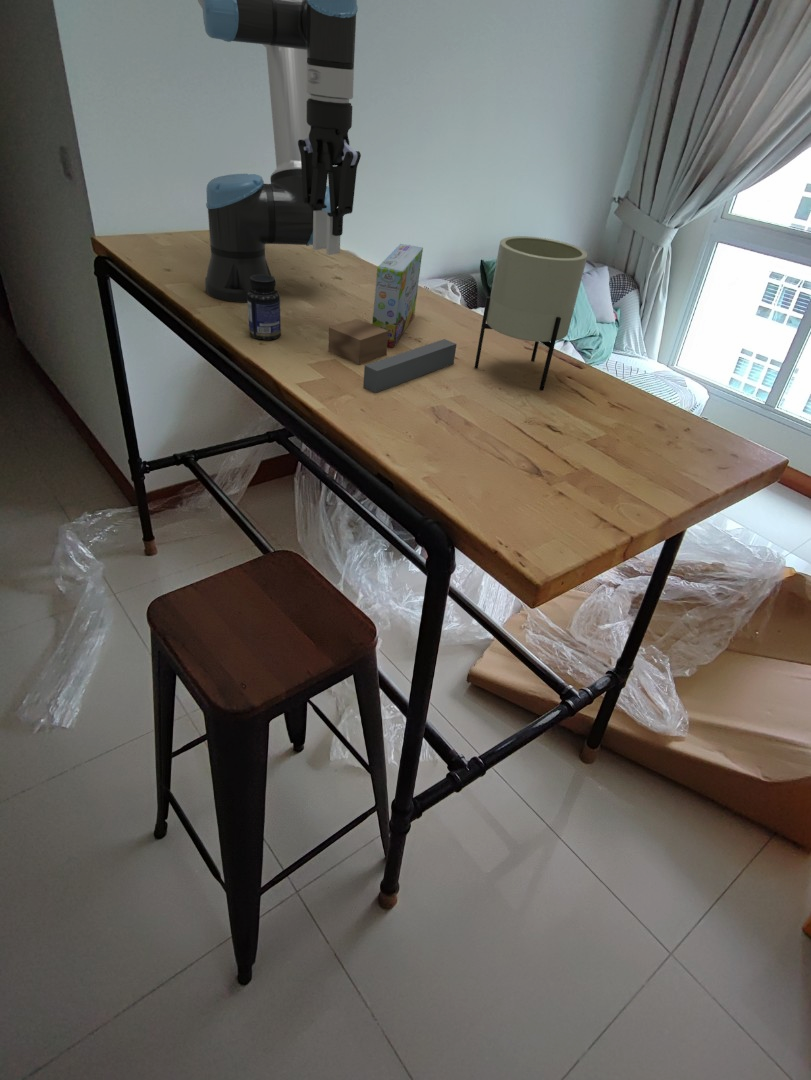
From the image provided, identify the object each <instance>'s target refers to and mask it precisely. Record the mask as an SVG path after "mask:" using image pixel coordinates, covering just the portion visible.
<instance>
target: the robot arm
mask: <svg viewBox="0 0 811 1080" xmlns="http://www.w3.org/2000/svg"><path fill="white" fill-rule="evenodd" d="M197 1H198V3H199V5H200V7H201V8H202V17H203V25H204V31H205V33H206V35H207V36H208V37H209V38H211V39H216V40H222V41H224V42H227V43H231V42H238V43H245V44H247V43H248V44H256V45H257V44H258V45H263V46H264V47H265V48H266V49H265V50H266V61H267V71H268V73H267V74H268V83H269V96H270V107H271V109H270V110H271V118H272V128H273V129H272V131H273V140H274V141H273V142H274V150H275V151H274V155H275V164H276V165H275V166H276V169H274V171H273V172H272V174H271V175H270V176H269V177H270V183H265V182H264V180H263V177H262V176H261V175H259V174H255V173H254V174H253V173H250V174H248V173H234V174H225V175H221V176H217V177H214V178H212V179H211V180H209V182H208V183H207V185H206V203H205V207H206V209H207V215H208V216H207V217H208V230H209V245H210V258H209V263H208V267H207V271H206V272H207V273H206V277H205V280H204V282H205V283H204V284H205V292H206V293H207V294H208V295H209V296H211V297H212V298H215V299H219V300H222V301H226V302H227V301H228V302H233V303H234V302H236V303H248V300H247V293H248V291H249V290H250V289H252V286H251V284H250V277H251V276H253V275H270V276H272V273H271V270H270V268H269V265H268V262H267V259H266V247H265V246H266V245H295V246H296V245H299V246H300V245H301V246H306V247H308V246H312V249H313V250H315V251H317V250H324V249H326V253H325V254H326V255H329V256H330V255H331V256H332V255H337V254H338V255H339V254H341V236H342V235H343V229H344V225H343V224H344V217H345V215H349V214H352V213H353V209H354V199H355V189H356V179H357V173H358V172H357V171H358V165H359V163H360V159H361V156H362V154H361V152H360V151H359V150H358V151H357V150H354V149H353V148H352V147H351V146H350V139H349V134H348V133H349V131H350V130H351V128H352V126H353V105H352V103H351V102H350V100H352V99H353V98H354V79H355V78H354V75H355V73H354V72H355V71H354V70H355V69H354V68H355V53H356V52H355V51H356V47H355V46H356V30H357V28H356V25H357V13H358V4H357V3H358V2H357V0H197ZM327 183H328V185H327Z"/></svg>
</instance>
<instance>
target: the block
mask: <svg viewBox="0 0 811 1080" xmlns="http://www.w3.org/2000/svg"><path fill="white" fill-rule="evenodd" d="M387 342H388V331H387V330H385V329H382V328H380V327H377V326H375V325H372V323H369V322H366V320H365V321H364V320H361V319H360V318H356V319H352V320H349V321H346V322H342V323H339V324H338V323H337V324H335V325H333V326H329V327H328V345H327V346H328V349H327V350H328V353H330V354H331V355H332V354H333V355H335V356H337V357H339V358H342V359H344V360H345V361H348V362H351V363H353V364H355V365H357V366H361V365H363V364H366V363H370V362H371V361H374V360H377V359H380V358H382V357H385V356H387V352H388V351H387V350H388V346H387Z"/></svg>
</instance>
